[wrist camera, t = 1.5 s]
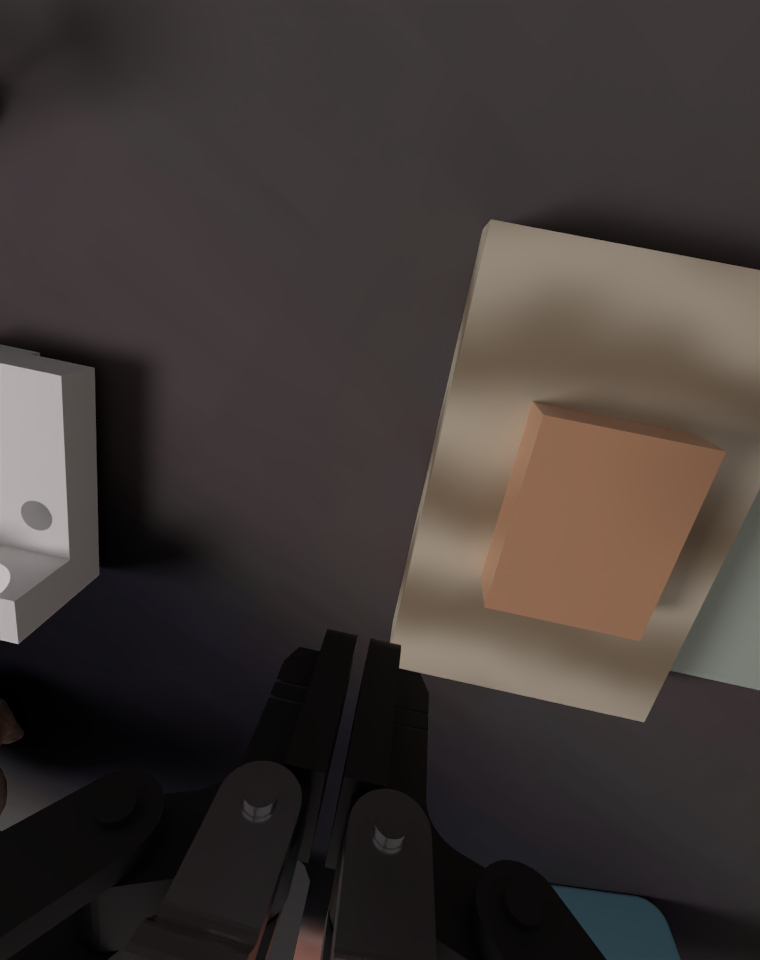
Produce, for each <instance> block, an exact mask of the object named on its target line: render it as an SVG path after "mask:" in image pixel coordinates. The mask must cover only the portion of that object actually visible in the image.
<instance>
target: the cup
mask: <svg viewBox="0 0 760 960" xmlns="http://www.w3.org/2000/svg"><path fill="white" fill-rule="evenodd" d="M309 884H310V880H309V877H308V874H307V871H306V868H305V866H304V865H303V864H302V863H301V862H300V861H297V864H296V868H295V872H294V876H293V880H292V884H291V888H290V892H289V895H288V898H287V900H286V902H285V904H284V906H283V909H282V913H281V917H280V920H279V923H278V927H277V930H276V933H275V937H274V940H273V943H272V946H271V950H270V953H269V956H268V960H293V958H294V953H295V949H296V944H297V939H298V935H299V930H300V925H301V921H302V916H303V911H304V907H305V902H306V898H307V893H308V888H309Z"/></svg>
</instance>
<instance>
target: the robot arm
mask: <svg viewBox="0 0 760 960" xmlns="http://www.w3.org/2000/svg"><path fill="white" fill-rule="evenodd" d="M357 639H358V636H357V635H353V634H348V633H344V632H339V631H334V630H330V629H327V632H326V635H325V638H324V641H323V644H322V647H321V650H320V651H316V650H311V649H307V648H302V647H299V648H298V649H297V650H295V651H294V652H293V653H292V654H291V655H290V656H289V657H288V658H286V659H285V660H284V662H283V664H282V667H281V669H280V672H279V674H278V677H277V679H276V683H275V684H274V686H273V689H272V691H271V694H270V697H269V698H268V701H267V703H266V706H265V708H264V710H263V713H262V715H261V718H260V720H259V723H258V725H257V727H256V730H255V732H254V735H253V737H252V740H251V742H250V744H249V747H248V749H247V752H246V754H245V757H244V758H243V760H242V762H241V764H240V765H239V767H238V768H237V769H235V770H234V771H233V772H232V773H230V774H229V775H228V776H227V778H226V779H225V780H223V781H222V782H220V783H218V784H216V785H214V786H212V787H209V788H206V789H202V790H196V791H188V792H177V793H167V794H163V790H162V788H161V786H160V784H159V783H158V782H157V781H156V780H155V779H154V778H153V777H151V776H149V775H147V774H145V773H142V772H138V771H121V772H116V773H112V774H109V775H106V776H104V777H102V778H100V779H97V780H96V781H94V782H92V783H90V784H88V785H86V786H85V787H83V788H81V789H79V790H77V791H75V792H74V793H72V794H70V795H68V796H66V797H64V798H62V799H61V800H59V801H57V802H55V803H53V804H51V805H50V806H48V807H46V808H44V809H42V810H40V811H38V812H37V813H35V814H33V815H31V816H29V817H27V818H26V819H24V820H22V821H20V822H18V823H16V824H15V825H13V826H11V827H9V828H7V829H5V830H3V831H2V832H0V960H268V956H269V953H270V950H271V946H272V943H273V940H274V937H275V933H276V930H277V927H278V923H279V920H280V917H281V913H282V909H283V906H284V904H285V902H286V900H287V898H288V895H289V892H290V888H291V884H292V880H293V876H294V872H295V868H296V864H297V861H301V862H305V863H308V862H309V858H310V854H311V849H312V845H313V840H314V836H315V832H316V827H317V823H318V818H319V814H320V809H321V805H322V801H323V796H324V792H325V787H326V783H327V778H328V774H329V770H330V765H331V761H332V756H333V752H334V748H335V743H336V739H337V734H338V730H339V725H340V721H341V717H342V712H343V708H344V703H345V698H346V693H347V689H348V684H349V679H350V674H351V669H352V664H353V659H354V654H355V649H356V644H357ZM400 655H401V645H399V644H394V643H390V642H385V641H380V640H376V639H370V644H369V648H368V653H367V658H366V662H365V667H364V672H363V677H362V681H361V686H360V691H359V695H358V700H357V705H356V710H355V715H354V720H353V725H352V730H351V735H350V740H349V746H348V751H347V756H346V761H345V766H344V771H343V776H342V781H341V786H340V791H339V796H338V801H337V807H336V812H335V817H334V822H333V827H332V832H331V837H330V842H329V847H328V852H327V857H326V862H325V867H328V868H332V869H336V870H335V876H334V881H333V887H332V893H331V898H330V903H329V907H328V912H327V916H326V921H325V928H324V936H323V944H322V951H321V959H320V960H607V959H606V958H605V957H604V955H603V954H602V953H601V951H600V950H599V949H598V947H597V946H596V945H595V943H594V942H593V941H592V939H591V938H590V937H589V935H588V934H587V933H586V931H585V930H584V929H583V927H582V926H581V925H580V923H579V922H578V921H577V919H576V918H575V917H574V915H573V914H572V913H571V911H570V910H569V909H568V907H567V906H566V905H565V903H564V902H563V901H562V899H561V898H560V897H559V895H558V894H557V893H556V891H555V890H554V889H553V887H552V886H551V885H550V884H549V883H548V881H547V880H546V879H545V878H544V877H543V876H542V875H540V874H539V873H538V872H537V871H535V870H534V869H532V868H531V867H529V866H527V865H525V864H523V863H520V862H517V861H512V860H501V861H497V862H494V863H492V864H490V865H489V866H488V867H487V868H484V867H482V866H481V865H479V864H477V863H476V862H474V861H472V860H471V859H469V858H467V857H466V856H464V855H462V854H461V853H459V852H458V851H456V850H455V849H453V848H452V847H451V846H450V845H449V844H448V843H446V842H445V841H444V839H443V838H442V837H441V836H440V835H439V833H438V832H437V830H436V829H435V828H434V826H433V824H432V822H431V820H430V817H429V814H428V810H427V806H426V779H427V740H428V734H427V731H428V701H429V692H428V690H427V688H426V686H425V683H424V681H423V679H422V677H421V675H420V673H416V672H411V671H407V670H402V669H399V665H400Z"/></svg>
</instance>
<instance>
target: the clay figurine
mask: <svg viewBox="0 0 760 960" xmlns="http://www.w3.org/2000/svg"><path fill="white" fill-rule="evenodd" d="M23 735H24V731H23V729H22V728H21V727H20V726H19V724H18V723H17V721H16V719H15V717H14V716H13V712H12V711H11V710H10V708H9V706H8V704H7V702H6V701H5V700H3V699H2V698H0V746H1V744H9V743H12V742H15V741H17V740H19V739H21V738H22V737H23ZM6 798H7V781H6V778H5V776H4V774H3V771H2V770H1V768H0V815H1V813H2V811H3V809H4V807H5V805H6ZM0 832H1V831H0Z"/></svg>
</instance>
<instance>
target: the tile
mask: <svg viewBox="0 0 760 960" xmlns="http://www.w3.org/2000/svg"><path fill="white" fill-rule="evenodd" d="M725 453H726V451H724V450H722V449H721V448H719V447H717V446H716V445H714V444H712V443H710V442H709V441H707V440H705V439H704V438H702V437H700V436H698V435H697V434H694V433H689V432H684V431H679V430H674V429H669V428H664V427H659V426H654V425H649V424H644V423H639V422H634V421H629V420H624V419H619V418H614V417H609V416H604V415H599V414H594V413H589V412H584V411H579V410H574V409H569V408H564V407H559V406H554V405H549V404H544V403H539V402H534V401H532V405H531V408H530V412H529V415H528V418H527V422H526V425H525V428H524V432H523V435H522V439H521V442H520V445H519V449H518V452H517V456H516V459H515V462H514V466H513V469H512V473H511V476H510V479H509V483H508V486H507V489H506V493H505V496H504V500H503V503H502V506H501V510H500V513H499V517H498V520H497V523H496V527H495V530H494V533H493V537H492V540H491V544H490V547H489V550H488V554H487V557H486V561H485V564H484V567H483V571H482V574H481V578H480V579H481V586H482V593H483V600H484V607H485V608H489V609H494V610H499V611H503V612H508V613H512V614H517V615H522V616H526V617H531V618H536V619H540V620H545V621H550V622H554V623H559V624H563V625H568V626H573V627H577V628H582V629H587V630H591V631H596V632H601V633H605V634H610V635H614V636H619V637H624V638H628V639H633V640H638V641H640V640H641V638H642V636H643V633H644V631H645V629H646V627H647V625H648V622H649V620H650V618H651V616H652V614H653V611H654V609H655V607H656V605H657V603H658V601H659V598H660V596H661V594H662V592H663V590H664V587H665V585H666V583H667V581H668V579H669V576H670V574H671V572H672V570H673V568H674V565H675V563H676V561H677V559H678V557H679V554H680V552H681V550H682V548H683V546H684V543H685V541H686V539H687V537H688V535H689V532H690V530H691V528H692V526H693V524H694V521H695V519H696V517H697V515H698V513H699V510H700V508H701V506H702V504H703V502H704V499H705V497H706V495H707V493H708V491H709V488H710V486H711V484H712V482H713V480H714V477H715V475H716V473H717V471H718V469H719V466H720V464H721V462H722V460H723V458H724V455H725Z"/></svg>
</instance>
